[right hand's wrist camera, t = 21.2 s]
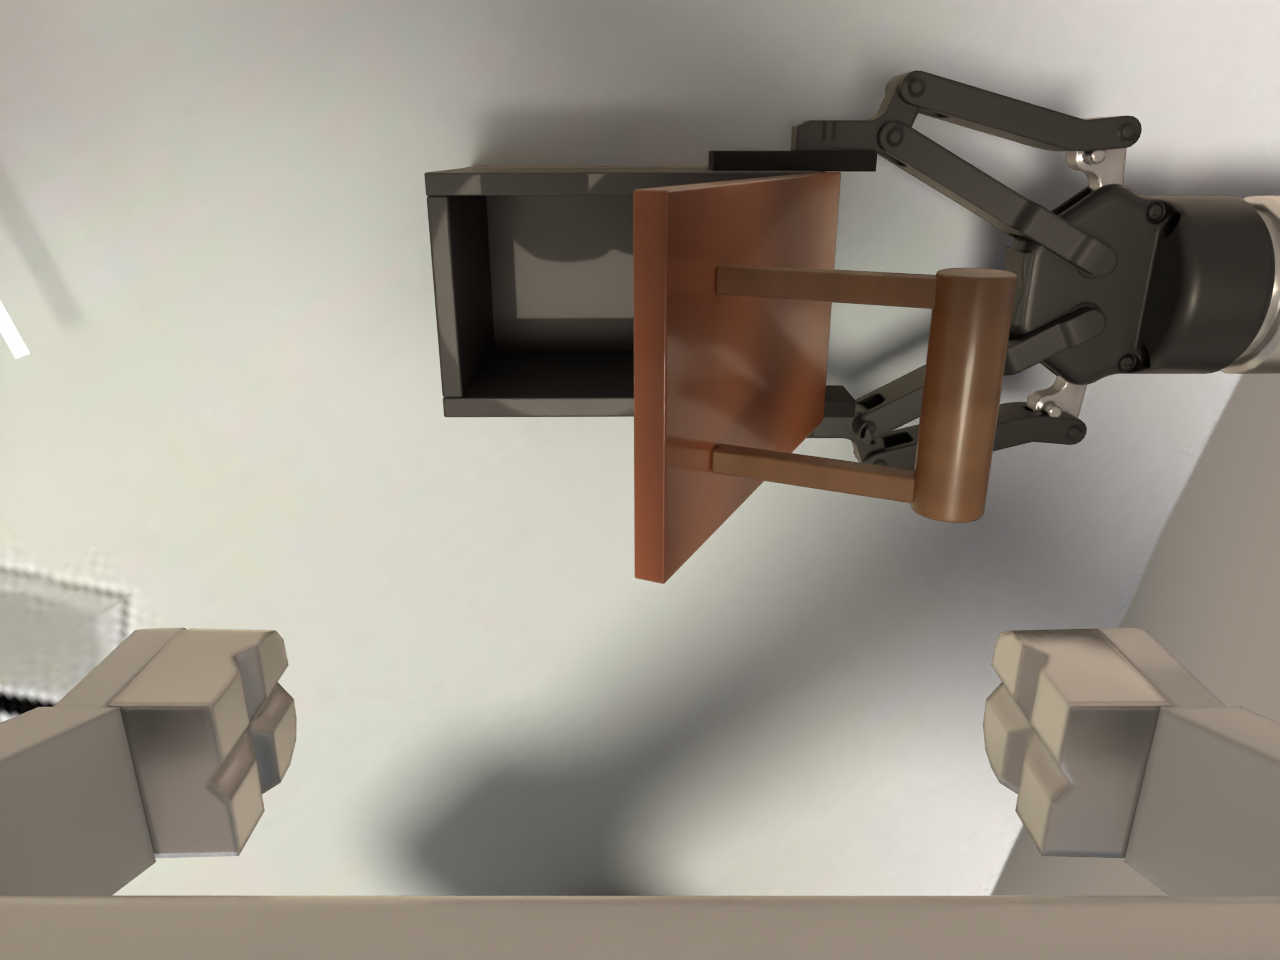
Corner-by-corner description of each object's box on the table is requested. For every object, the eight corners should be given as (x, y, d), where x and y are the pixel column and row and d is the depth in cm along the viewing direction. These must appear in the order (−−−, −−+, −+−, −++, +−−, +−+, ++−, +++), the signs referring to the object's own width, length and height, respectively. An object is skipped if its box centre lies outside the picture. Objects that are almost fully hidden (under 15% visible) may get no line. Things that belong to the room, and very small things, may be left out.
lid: (633, 578, 23) (957, 646, 20) (632, 189, 20) (1018, 196, 17) (803, 418, 37) (1010, 443, 34) (818, 172, 34) (1050, 174, 30)
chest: (482, 363, 46) (443, 417, 37) (469, 167, 43) (424, 172, 34) (775, 362, 47) (811, 416, 37) (785, 166, 43) (827, 171, 34)
